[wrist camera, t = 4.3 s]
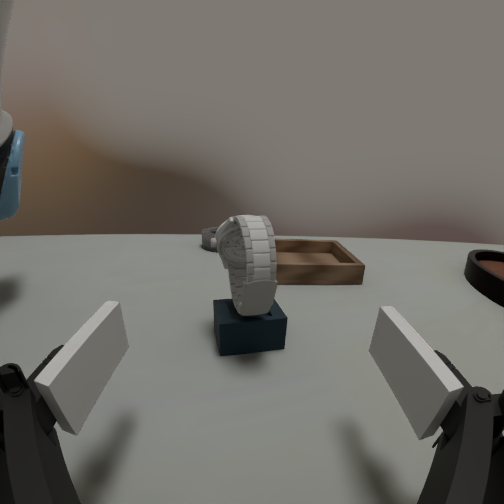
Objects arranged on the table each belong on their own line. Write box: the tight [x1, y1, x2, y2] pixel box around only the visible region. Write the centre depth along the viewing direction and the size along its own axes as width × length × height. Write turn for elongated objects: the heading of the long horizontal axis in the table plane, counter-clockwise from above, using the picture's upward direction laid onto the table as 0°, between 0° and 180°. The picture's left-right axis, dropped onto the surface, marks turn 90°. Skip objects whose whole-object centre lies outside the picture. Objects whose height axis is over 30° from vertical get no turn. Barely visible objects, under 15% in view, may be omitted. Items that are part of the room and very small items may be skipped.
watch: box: [211, 215, 287, 356], centre depth 23 cm, size 6×8×11 cm
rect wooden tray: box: [275, 239, 365, 285], centre depth 43 cm, size 14×14×3 cm
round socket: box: [202, 227, 219, 252], centre depth 54 cm, size 9×9×3 cm
